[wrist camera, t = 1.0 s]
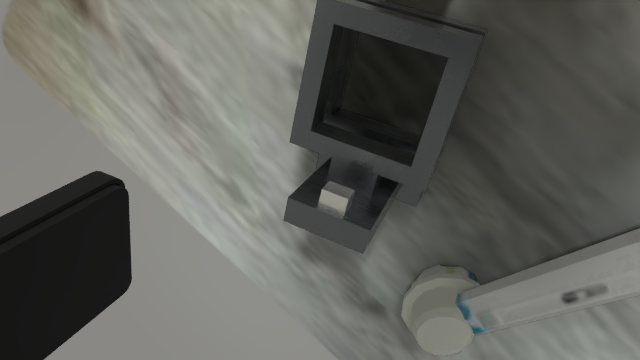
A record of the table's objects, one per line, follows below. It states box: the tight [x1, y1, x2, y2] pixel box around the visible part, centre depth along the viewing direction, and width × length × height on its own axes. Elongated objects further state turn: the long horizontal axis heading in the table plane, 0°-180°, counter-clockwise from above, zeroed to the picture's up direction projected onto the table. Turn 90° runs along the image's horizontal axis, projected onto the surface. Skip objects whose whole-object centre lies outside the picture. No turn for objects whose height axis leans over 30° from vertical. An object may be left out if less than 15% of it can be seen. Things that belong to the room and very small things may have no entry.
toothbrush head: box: [401, 228, 640, 356], centre depth 30 cm, size 5×7×25 cm
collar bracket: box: [283, 0, 488, 254], centre depth 28 cm, size 9×13×10 cm
